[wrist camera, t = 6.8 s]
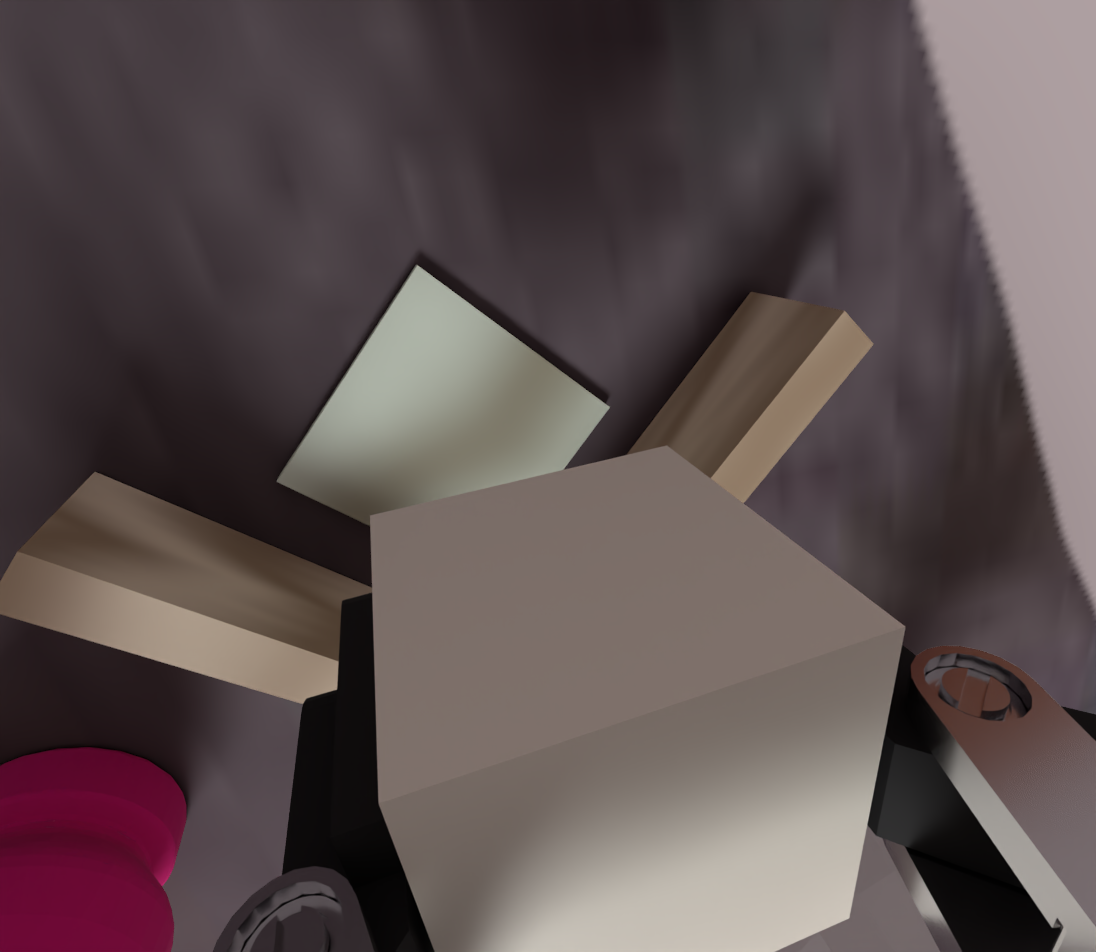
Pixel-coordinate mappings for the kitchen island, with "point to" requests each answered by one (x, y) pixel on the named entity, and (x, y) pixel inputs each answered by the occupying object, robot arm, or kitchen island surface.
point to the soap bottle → (874, 912)
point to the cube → (622, 715)
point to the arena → (402, 479)
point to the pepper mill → (87, 852)
